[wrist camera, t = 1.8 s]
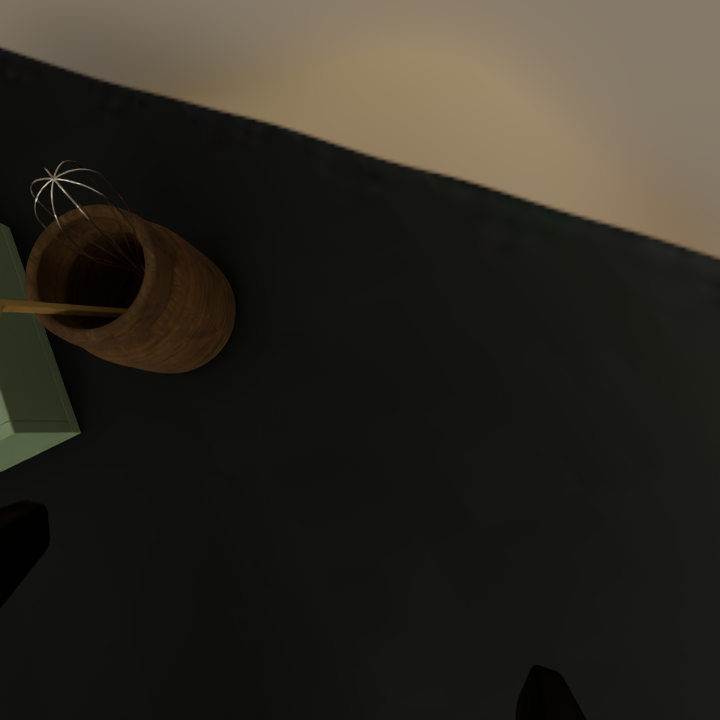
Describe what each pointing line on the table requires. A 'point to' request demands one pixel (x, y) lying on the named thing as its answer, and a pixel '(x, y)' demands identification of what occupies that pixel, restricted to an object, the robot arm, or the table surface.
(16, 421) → the tray
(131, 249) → the utensil holder
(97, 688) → the table surface
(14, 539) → the robot arm
